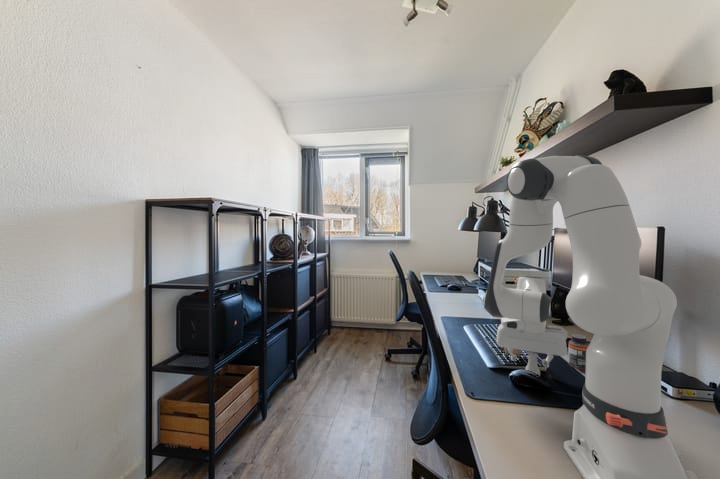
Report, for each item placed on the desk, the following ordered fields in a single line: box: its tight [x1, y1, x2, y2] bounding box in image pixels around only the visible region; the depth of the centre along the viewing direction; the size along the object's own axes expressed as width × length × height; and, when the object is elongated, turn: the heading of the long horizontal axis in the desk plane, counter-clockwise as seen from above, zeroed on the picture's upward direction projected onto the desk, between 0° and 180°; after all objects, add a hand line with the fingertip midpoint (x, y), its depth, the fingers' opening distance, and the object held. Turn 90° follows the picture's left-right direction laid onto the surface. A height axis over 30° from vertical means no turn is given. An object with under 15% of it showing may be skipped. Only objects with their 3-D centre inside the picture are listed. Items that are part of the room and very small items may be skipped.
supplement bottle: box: [568, 333, 590, 372], centre depth 94 cm, size 6×6×11 cm
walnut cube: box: [503, 347, 522, 356], centre depth 102 cm, size 5×5×5 cm
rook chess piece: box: [524, 351, 541, 377], centre depth 90 cm, size 4×4×8 cm
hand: (529, 362), depth 90 cm, fingers open, 8 cm apart
